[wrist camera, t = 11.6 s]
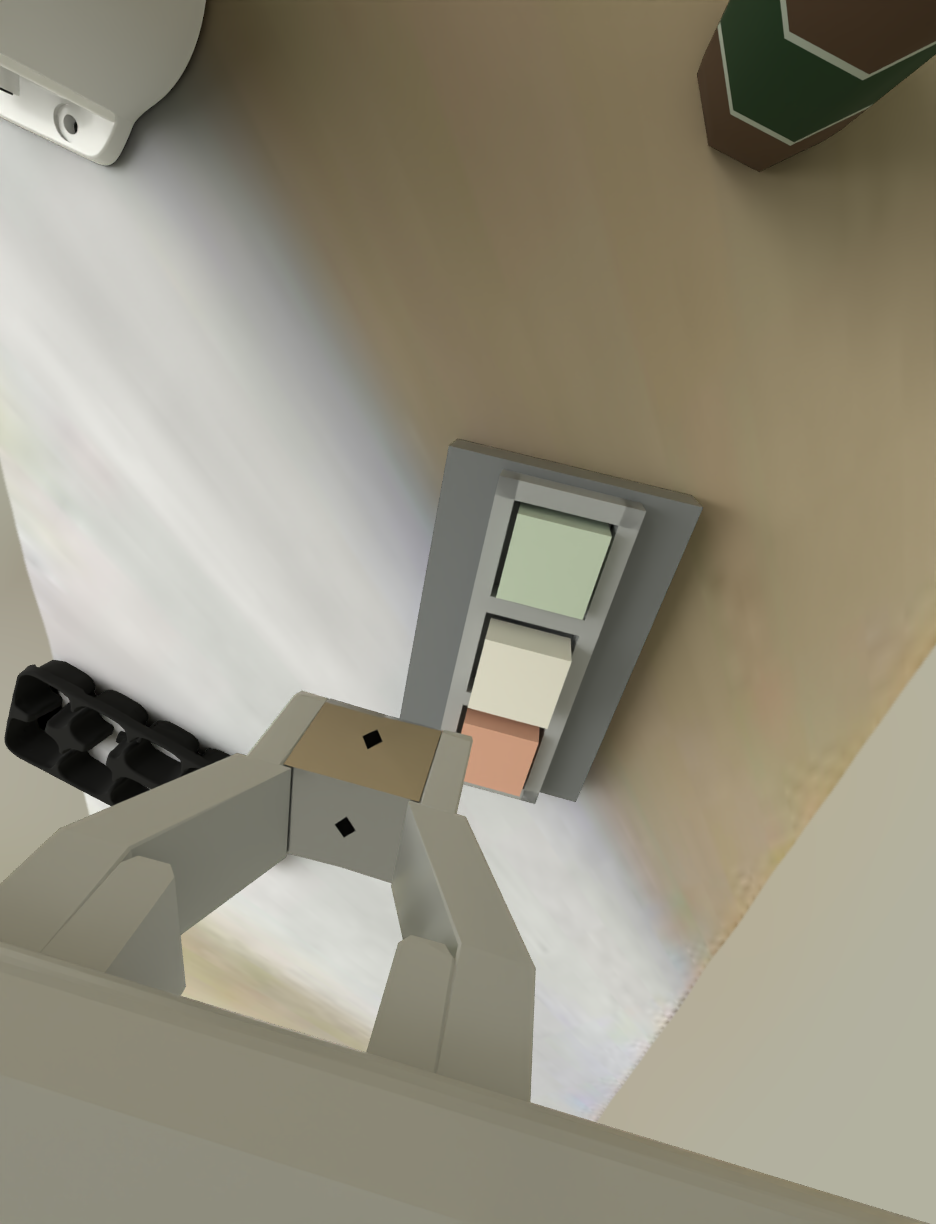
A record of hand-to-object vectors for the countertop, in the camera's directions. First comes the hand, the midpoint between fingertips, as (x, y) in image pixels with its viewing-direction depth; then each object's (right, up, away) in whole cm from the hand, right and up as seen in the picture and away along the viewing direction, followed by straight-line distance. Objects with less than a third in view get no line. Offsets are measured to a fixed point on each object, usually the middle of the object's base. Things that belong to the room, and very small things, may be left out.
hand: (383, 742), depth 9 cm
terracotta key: (+4, -8, +32) cm, 34 cm away
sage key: (+7, +6, +25) cm, 27 cm away
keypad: (+6, +1, +32) cm, 32 cm away
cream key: (+5, -1, +28) cm, 28 cm away
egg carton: (-30, -13, +46) cm, 56 cm away
